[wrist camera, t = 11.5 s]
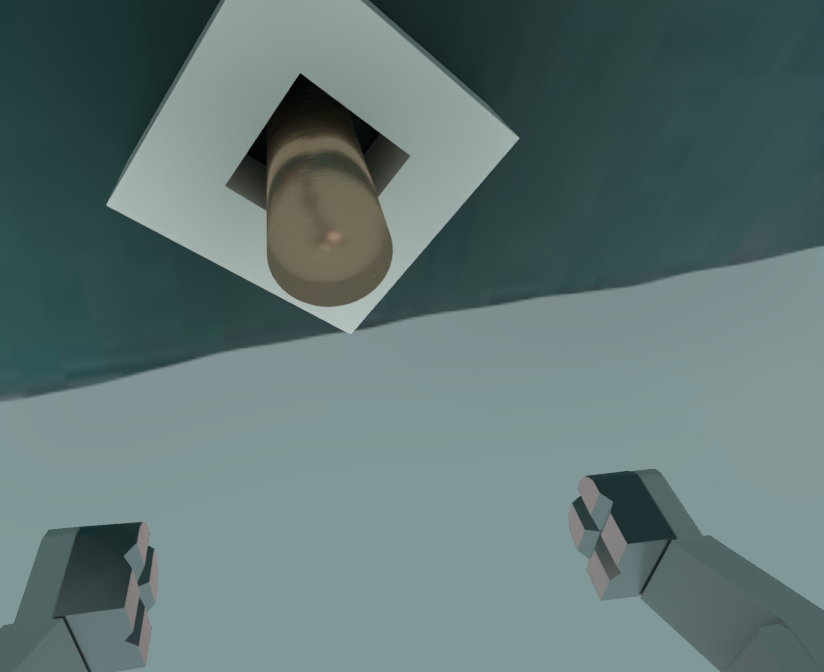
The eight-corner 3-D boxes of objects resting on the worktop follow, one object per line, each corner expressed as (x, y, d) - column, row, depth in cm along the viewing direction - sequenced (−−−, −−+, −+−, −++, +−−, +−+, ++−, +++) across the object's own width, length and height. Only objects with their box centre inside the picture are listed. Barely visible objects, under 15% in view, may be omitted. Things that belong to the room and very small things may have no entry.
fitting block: (128, 159, 28) (105, 205, 24) (270, -87, 24) (270, -79, 20) (341, 281, 34) (350, 334, 30) (486, 103, 30) (519, 138, 26)
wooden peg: (250, 139, 29) (242, 269, 19) (298, 67, 27) (314, 170, 18) (321, 186, 31) (345, 325, 21) (369, 121, 29) (417, 239, 20)
